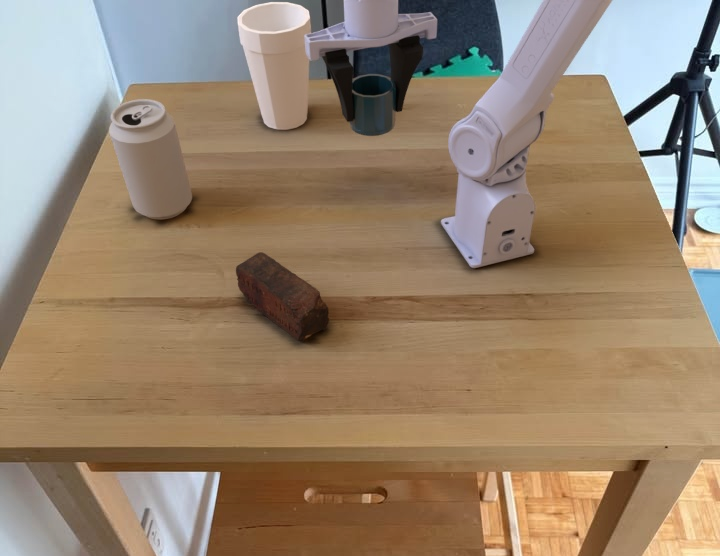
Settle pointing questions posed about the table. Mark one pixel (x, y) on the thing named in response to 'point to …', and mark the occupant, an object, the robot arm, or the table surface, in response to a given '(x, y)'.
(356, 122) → the cup
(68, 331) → the table surface
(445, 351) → the table surface
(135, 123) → the can
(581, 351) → the table surface
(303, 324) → the brick
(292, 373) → the table surface
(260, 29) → the foam cup
